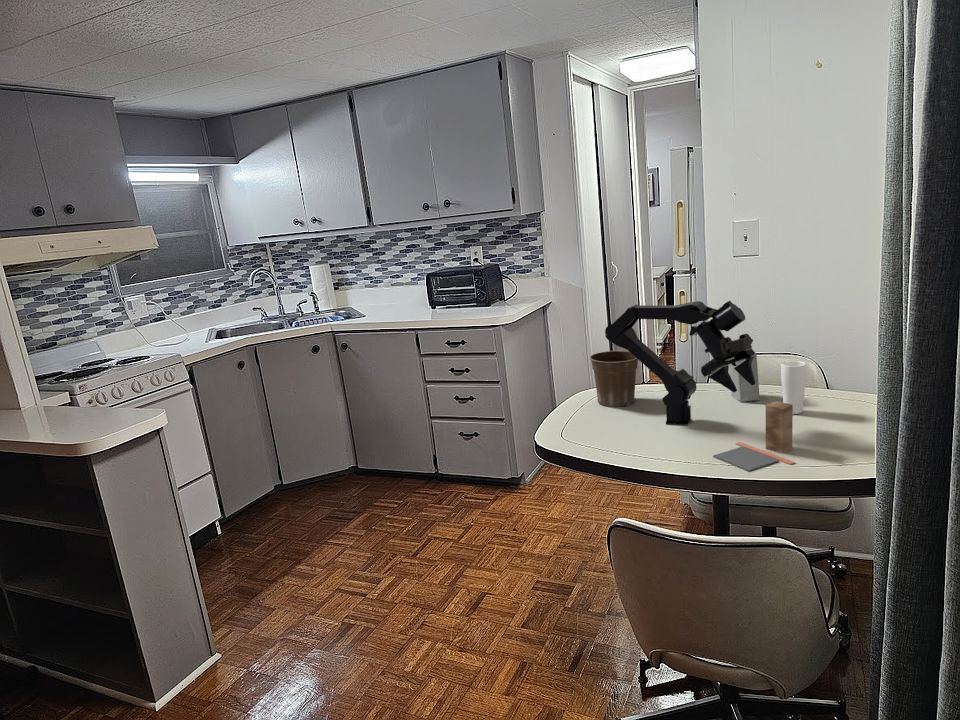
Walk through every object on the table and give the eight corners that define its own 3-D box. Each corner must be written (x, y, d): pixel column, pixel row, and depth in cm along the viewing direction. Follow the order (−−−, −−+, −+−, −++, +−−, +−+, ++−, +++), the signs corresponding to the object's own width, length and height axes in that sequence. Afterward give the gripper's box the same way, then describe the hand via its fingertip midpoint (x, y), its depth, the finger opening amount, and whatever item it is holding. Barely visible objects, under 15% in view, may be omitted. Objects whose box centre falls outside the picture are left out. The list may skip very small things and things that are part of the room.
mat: (713, 456, 173) (713, 455, 173) (742, 447, 177) (742, 446, 177) (748, 471, 163) (748, 470, 162) (778, 461, 166) (778, 460, 166)
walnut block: (765, 448, 175) (765, 405, 172) (776, 444, 177) (776, 401, 175) (781, 453, 171) (781, 408, 168) (792, 448, 174) (792, 404, 171)
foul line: (735, 444, 180) (735, 443, 180) (739, 442, 181) (739, 441, 181) (790, 464, 164) (790, 463, 164) (795, 463, 165) (795, 462, 164)
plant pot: (641, 394, 232) (639, 349, 228) (641, 408, 217) (639, 360, 213) (594, 395, 236) (591, 351, 232) (591, 410, 221) (588, 362, 217)
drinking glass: (805, 408, 201) (806, 360, 198) (805, 416, 195) (806, 366, 192) (781, 408, 204) (781, 360, 201) (780, 415, 198) (780, 366, 195)
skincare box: (760, 400, 213) (760, 352, 209) (737, 402, 213) (737, 354, 209) (750, 393, 221) (749, 346, 217) (728, 395, 221) (727, 349, 217)
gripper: (715, 330, 177) (748, 381, 172) (753, 320, 188) (785, 367, 183) (687, 352, 185) (717, 400, 180) (725, 340, 196) (754, 386, 191)
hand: (745, 388), depth 183 cm, fingers open, 9 cm apart
